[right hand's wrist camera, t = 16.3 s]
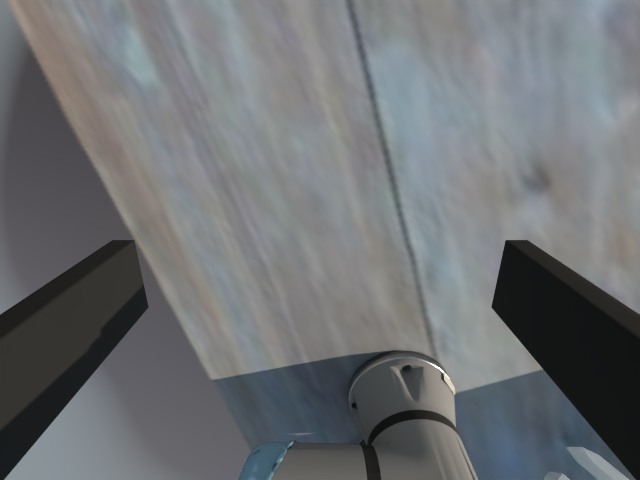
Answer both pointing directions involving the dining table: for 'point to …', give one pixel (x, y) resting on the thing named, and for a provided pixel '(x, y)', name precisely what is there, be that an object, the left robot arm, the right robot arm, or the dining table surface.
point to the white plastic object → (590, 466)
